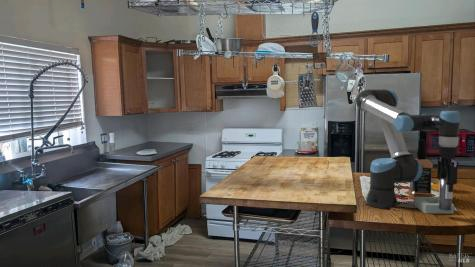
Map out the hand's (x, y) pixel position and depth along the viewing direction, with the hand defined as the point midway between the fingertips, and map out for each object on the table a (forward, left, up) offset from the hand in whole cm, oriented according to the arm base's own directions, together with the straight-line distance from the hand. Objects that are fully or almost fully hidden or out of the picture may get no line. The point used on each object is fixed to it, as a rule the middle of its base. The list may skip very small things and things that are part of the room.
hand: (445, 196), depth 163 cm
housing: (0, +11, -11) cm, 15 cm away
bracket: (+22, +48, -11) cm, 54 cm away
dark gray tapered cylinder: (0, 0, -6) cm, 6 cm away
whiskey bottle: (+3, +32, -11) cm, 34 cm away
